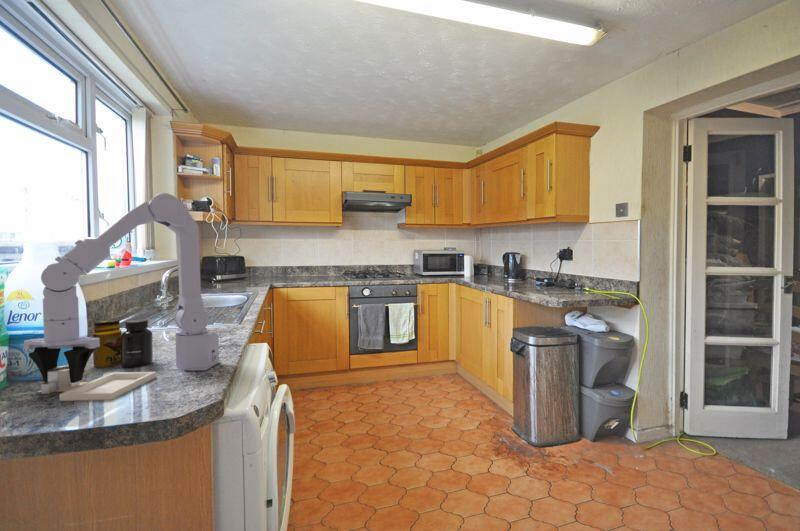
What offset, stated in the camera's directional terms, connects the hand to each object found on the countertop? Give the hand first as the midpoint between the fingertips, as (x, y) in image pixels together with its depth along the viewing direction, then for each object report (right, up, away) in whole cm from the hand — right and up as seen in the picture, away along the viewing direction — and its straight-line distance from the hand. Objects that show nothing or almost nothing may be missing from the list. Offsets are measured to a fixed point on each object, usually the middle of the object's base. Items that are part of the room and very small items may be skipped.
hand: (63, 381), depth 82 cm
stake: (0, -2, 0) cm, 2 cm away
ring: (0, -1, 0) cm, 1 cm away
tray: (+12, -2, -1) cm, 12 cm away
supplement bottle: (+4, -1, +17) cm, 18 cm away
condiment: (-5, -2, +17) cm, 18 cm away
